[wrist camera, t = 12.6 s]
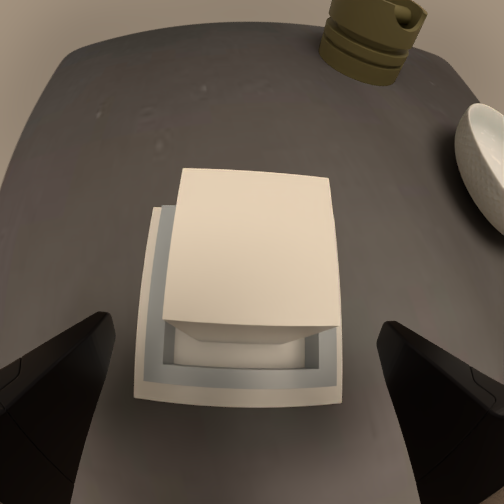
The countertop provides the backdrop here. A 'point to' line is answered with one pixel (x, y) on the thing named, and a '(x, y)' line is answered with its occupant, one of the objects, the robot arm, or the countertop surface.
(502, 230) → the cereal bowl
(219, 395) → the socket
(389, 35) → the piston
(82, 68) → the countertop surface
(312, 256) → the plug
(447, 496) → the robot arm
